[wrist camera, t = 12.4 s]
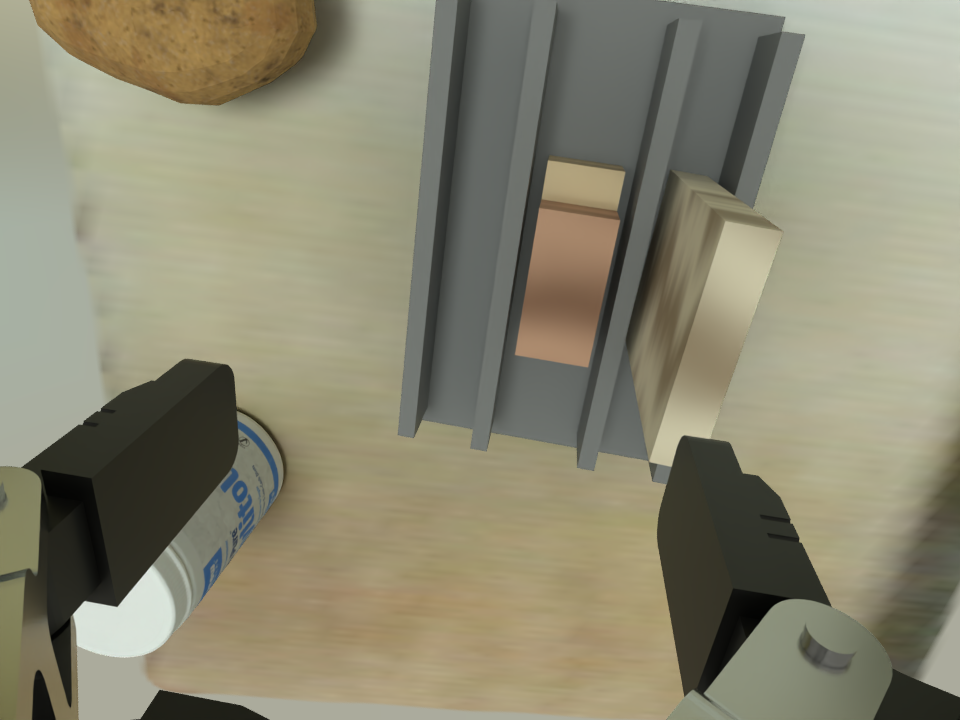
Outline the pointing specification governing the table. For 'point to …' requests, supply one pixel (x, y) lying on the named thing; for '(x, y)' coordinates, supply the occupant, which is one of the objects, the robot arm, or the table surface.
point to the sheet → (694, 308)
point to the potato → (183, 42)
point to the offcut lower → (583, 182)
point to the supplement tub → (189, 555)
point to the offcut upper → (566, 282)
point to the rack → (520, 180)
